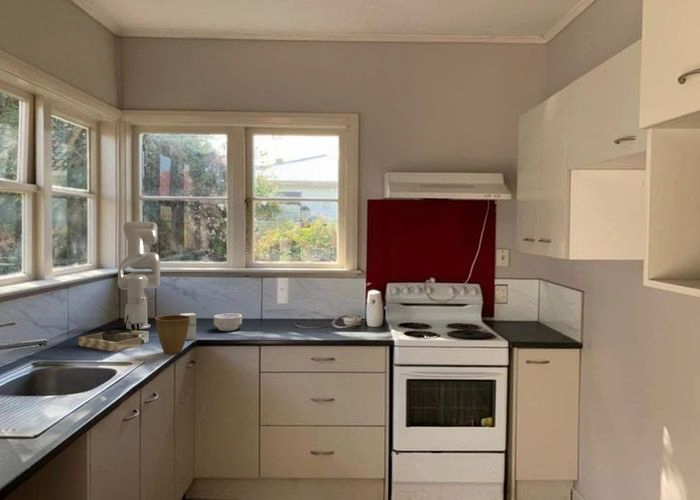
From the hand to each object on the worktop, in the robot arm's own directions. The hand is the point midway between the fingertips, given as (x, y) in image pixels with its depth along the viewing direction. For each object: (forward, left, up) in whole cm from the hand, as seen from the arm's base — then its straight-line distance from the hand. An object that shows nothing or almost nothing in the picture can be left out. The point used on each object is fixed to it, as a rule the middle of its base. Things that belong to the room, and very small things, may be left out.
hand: (136, 336), depth 256 cm
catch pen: (0, -14, -1) cm, 14 cm away
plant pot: (+37, -10, -2) cm, 38 cm away
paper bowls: (+23, +42, -2) cm, 48 cm away
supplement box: (+21, +14, -2) cm, 25 cm away
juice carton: (+1, -7, -2) cm, 8 cm away
